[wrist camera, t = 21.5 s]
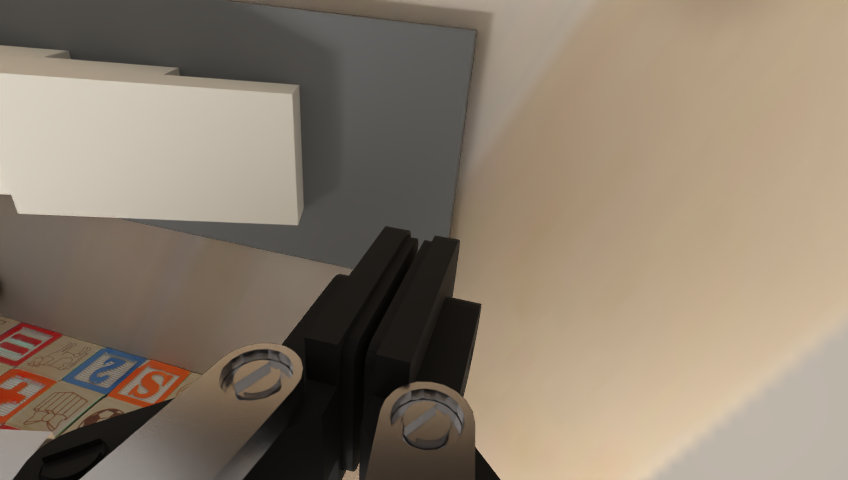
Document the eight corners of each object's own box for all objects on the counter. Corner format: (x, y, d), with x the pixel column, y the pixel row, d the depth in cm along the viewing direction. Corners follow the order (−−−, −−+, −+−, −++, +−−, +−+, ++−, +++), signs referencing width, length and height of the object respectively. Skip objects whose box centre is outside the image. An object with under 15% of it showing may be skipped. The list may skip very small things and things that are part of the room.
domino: (298, 225, 18) (18, 213, 17) (303, 207, 20) (45, 195, 18) (292, 94, 16) (-34, 70, 15) (299, 84, 17) (1, 62, 16)
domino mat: (443, 280, 20) (440, 287, 20) (-97, 165, 25) (-110, 169, 25) (477, 30, 16) (474, 31, 15) (-197, -51, 21) (-217, -52, 20)
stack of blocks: (289, 394, 27) (114, 660, 16) (293, 465, 30) (147, 727, 19) (-18, 309, 30) (-330, 480, 19) (14, 379, 33) (-242, 561, 22)
